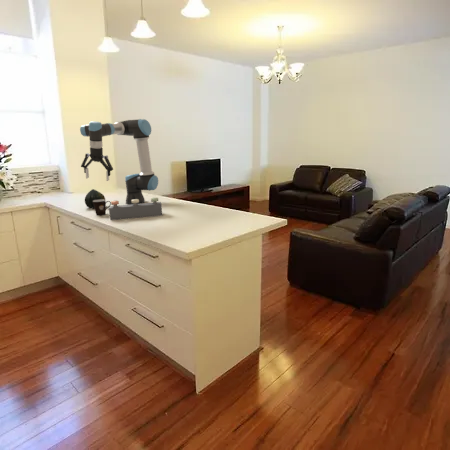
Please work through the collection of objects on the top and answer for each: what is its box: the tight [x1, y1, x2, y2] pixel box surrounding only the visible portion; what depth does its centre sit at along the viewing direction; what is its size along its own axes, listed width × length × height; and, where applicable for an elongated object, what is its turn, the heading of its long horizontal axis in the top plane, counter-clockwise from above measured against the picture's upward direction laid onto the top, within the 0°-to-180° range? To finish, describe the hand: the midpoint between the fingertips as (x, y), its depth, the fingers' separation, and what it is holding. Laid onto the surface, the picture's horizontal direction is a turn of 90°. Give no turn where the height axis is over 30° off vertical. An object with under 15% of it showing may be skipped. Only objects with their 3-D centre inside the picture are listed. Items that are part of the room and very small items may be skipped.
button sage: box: [150, 197, 159, 204], centre depth 232 cm, size 5×5×5 cm
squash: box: [84, 188, 106, 209], centre depth 264 cm, size 14×15×15 cm
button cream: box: [131, 199, 139, 206], centre depth 229 cm, size 5×5×5 cm
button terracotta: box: [110, 200, 120, 207], centre depth 226 cm, size 5×5×5 cm
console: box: [108, 201, 163, 221], centre depth 230 cm, size 34×7×8 cm, turn 103°
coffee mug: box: [93, 199, 112, 216], centre depth 241 cm, size 12×9×10 cm
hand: (97, 179), depth 224 cm, fingers open, 13 cm apart
